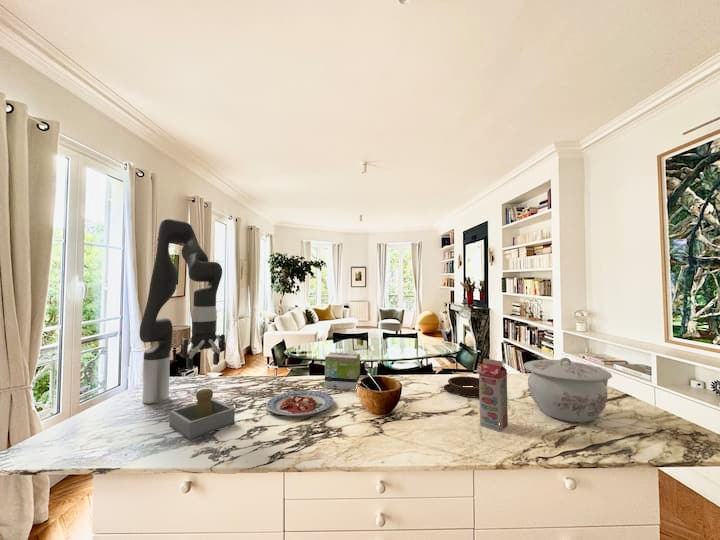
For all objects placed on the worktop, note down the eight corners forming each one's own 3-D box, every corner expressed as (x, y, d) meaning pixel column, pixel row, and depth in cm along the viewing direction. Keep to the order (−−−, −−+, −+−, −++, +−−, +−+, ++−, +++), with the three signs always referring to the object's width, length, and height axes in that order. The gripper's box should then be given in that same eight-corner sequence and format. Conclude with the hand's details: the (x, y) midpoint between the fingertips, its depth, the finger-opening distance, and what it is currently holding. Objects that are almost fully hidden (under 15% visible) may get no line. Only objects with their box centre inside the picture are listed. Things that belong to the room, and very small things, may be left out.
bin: (169, 426, 109) (169, 411, 109) (213, 412, 121) (213, 398, 121) (188, 439, 100) (189, 423, 100) (234, 423, 111) (234, 408, 111)
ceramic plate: (251, 414, 119) (251, 406, 120) (291, 392, 143) (291, 386, 143) (312, 425, 110) (312, 416, 110) (344, 400, 134) (344, 393, 134)
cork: (217, 420, 113) (218, 387, 113) (204, 427, 107) (204, 393, 107) (204, 417, 115) (204, 386, 115) (189, 424, 109) (190, 391, 109)
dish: (503, 399, 135) (502, 387, 135) (450, 400, 134) (450, 388, 134) (485, 386, 152) (484, 375, 152) (438, 387, 151) (438, 376, 151)
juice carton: (488, 419, 114) (487, 356, 115) (507, 425, 109) (506, 359, 110) (479, 425, 109) (478, 359, 110) (499, 432, 105) (498, 363, 106)
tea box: (324, 389, 148) (324, 356, 149) (329, 382, 158) (330, 351, 158) (356, 390, 145) (356, 357, 146) (360, 384, 155) (360, 352, 156)
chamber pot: (523, 421, 112) (522, 361, 113) (524, 397, 137) (523, 347, 138) (625, 439, 99) (623, 371, 100) (606, 409, 124) (605, 354, 125)
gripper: (219, 317, 119) (218, 361, 119) (177, 320, 108) (176, 369, 108) (229, 318, 115) (228, 364, 114) (187, 322, 104) (186, 373, 103)
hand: (203, 366), depth 111 cm, fingers open, 8 cm apart
